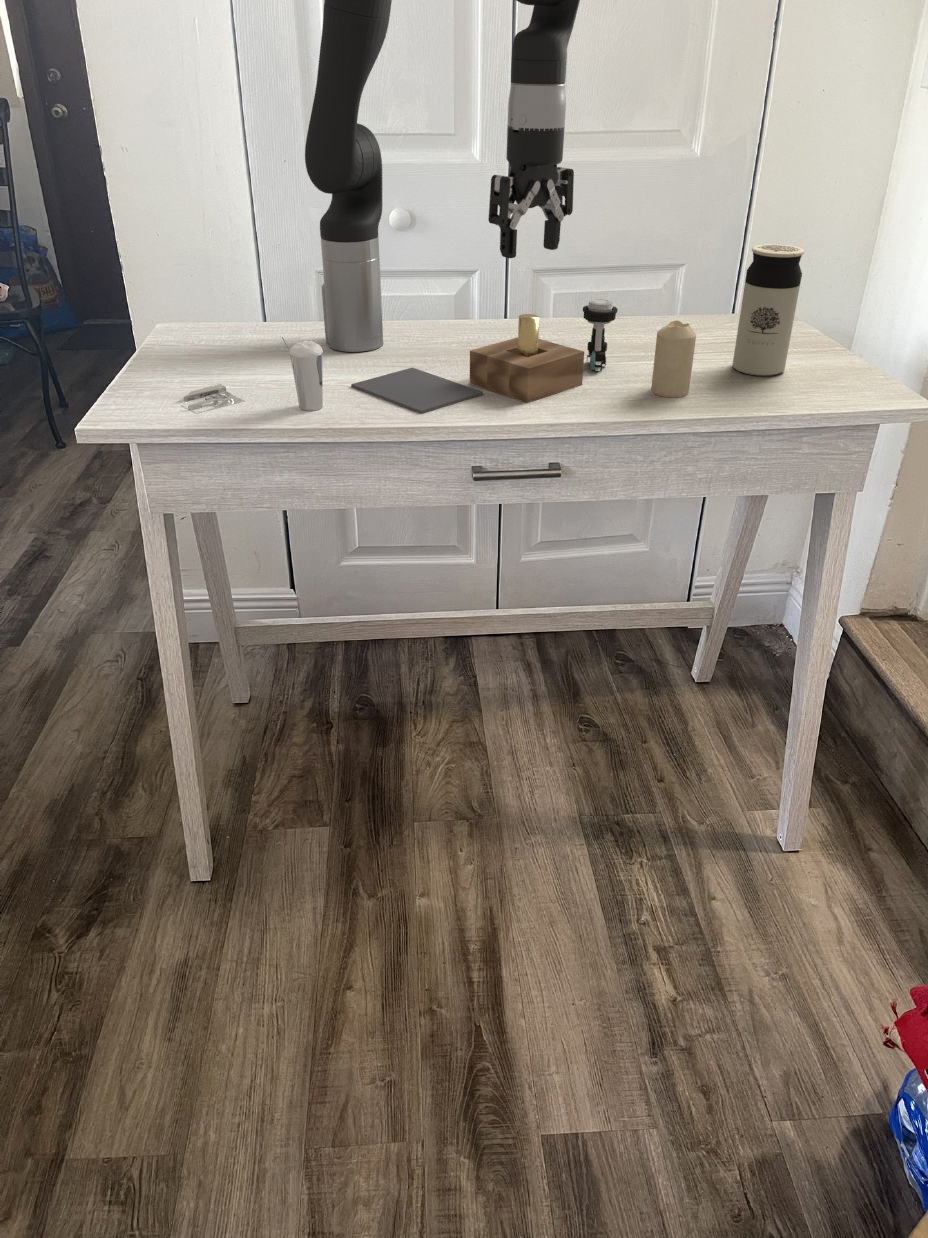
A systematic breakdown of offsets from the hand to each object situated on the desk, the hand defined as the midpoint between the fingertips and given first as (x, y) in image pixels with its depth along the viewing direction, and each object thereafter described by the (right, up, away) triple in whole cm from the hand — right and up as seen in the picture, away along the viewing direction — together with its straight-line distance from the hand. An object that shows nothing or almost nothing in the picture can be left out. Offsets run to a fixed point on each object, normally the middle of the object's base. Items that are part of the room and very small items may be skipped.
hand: (529, 252), depth 132 cm
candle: (+21, -18, +7) cm, 29 cm away
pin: (0, -16, +10) cm, 19 cm away
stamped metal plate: (-46, -21, +4) cm, 51 cm away
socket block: (0, -16, +10) cm, 19 cm away
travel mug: (+37, -12, +16) cm, 42 cm away
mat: (-16, -17, +7) cm, 25 cm away
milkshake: (-31, -21, +1) cm, 38 cm away
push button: (+12, -12, +17) cm, 24 cm away
